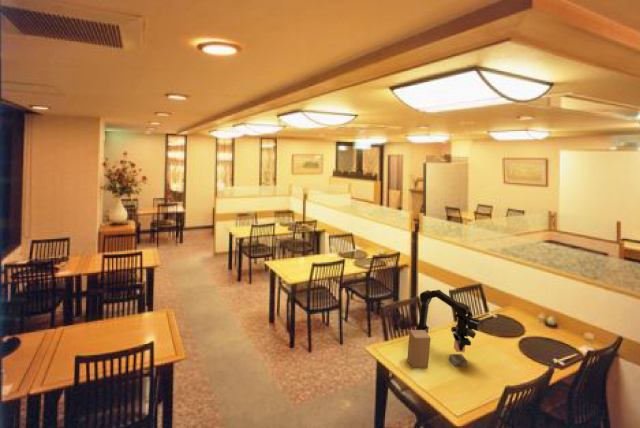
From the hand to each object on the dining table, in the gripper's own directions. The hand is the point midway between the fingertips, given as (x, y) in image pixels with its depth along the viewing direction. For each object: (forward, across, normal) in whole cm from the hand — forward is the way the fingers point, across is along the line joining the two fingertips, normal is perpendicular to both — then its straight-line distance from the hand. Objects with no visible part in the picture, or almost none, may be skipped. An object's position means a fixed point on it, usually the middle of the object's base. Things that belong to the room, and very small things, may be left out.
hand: (459, 348), depth 225 cm
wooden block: (+10, -3, +26) cm, 28 cm away
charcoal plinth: (+10, 0, 0) cm, 10 cm away
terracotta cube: (+1, 0, 0) cm, 1 cm away
